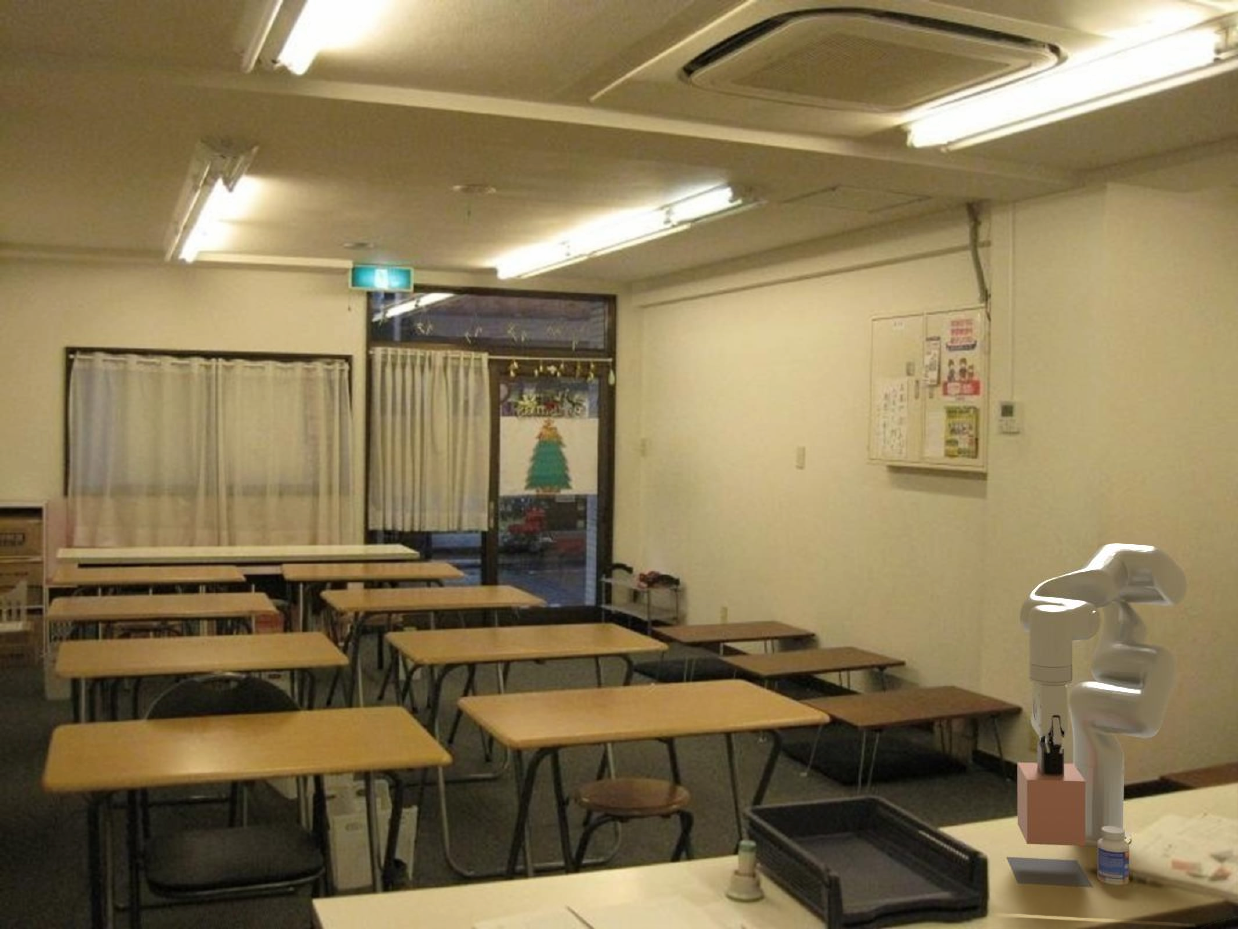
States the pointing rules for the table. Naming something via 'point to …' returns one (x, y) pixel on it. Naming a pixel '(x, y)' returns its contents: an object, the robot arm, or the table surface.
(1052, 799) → the cover
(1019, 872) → the mat
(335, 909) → the table surface
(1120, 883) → the pill bottle
